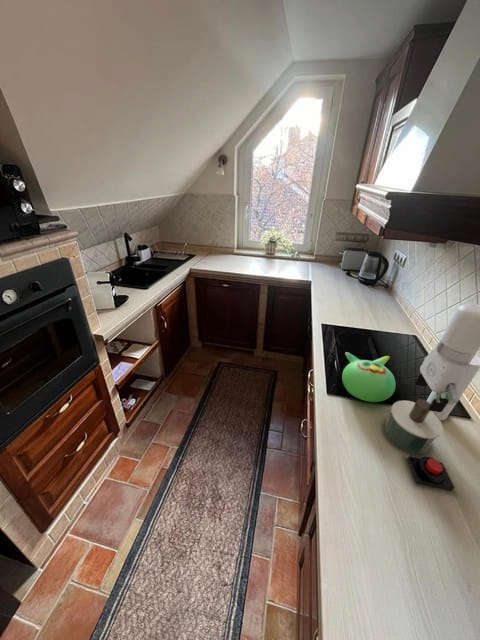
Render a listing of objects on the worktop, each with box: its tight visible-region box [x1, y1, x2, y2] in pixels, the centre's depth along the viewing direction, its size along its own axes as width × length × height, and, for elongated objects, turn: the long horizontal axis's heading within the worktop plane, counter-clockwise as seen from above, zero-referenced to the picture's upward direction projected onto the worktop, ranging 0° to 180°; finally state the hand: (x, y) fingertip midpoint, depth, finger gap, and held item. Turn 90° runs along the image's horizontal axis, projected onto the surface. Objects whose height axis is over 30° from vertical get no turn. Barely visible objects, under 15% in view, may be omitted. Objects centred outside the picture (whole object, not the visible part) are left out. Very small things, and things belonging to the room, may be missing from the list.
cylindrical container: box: [426, 354, 480, 421], centre depth 85 cm, size 7×7×25 cm
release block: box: [406, 455, 455, 492], centre depth 71 cm, size 9×7×4 cm
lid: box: [390, 398, 444, 439], centre depth 77 cm, size 14×14×7 cm
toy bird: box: [341, 351, 397, 403], centre depth 95 cm, size 18×17×15 cm
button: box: [425, 458, 443, 475], centre depth 70 cm, size 4×4×2 cm
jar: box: [384, 412, 437, 455], centre depth 81 cm, size 13×13×8 cm
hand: (426, 397), depth 74 cm, fingers open, 9 cm apart
